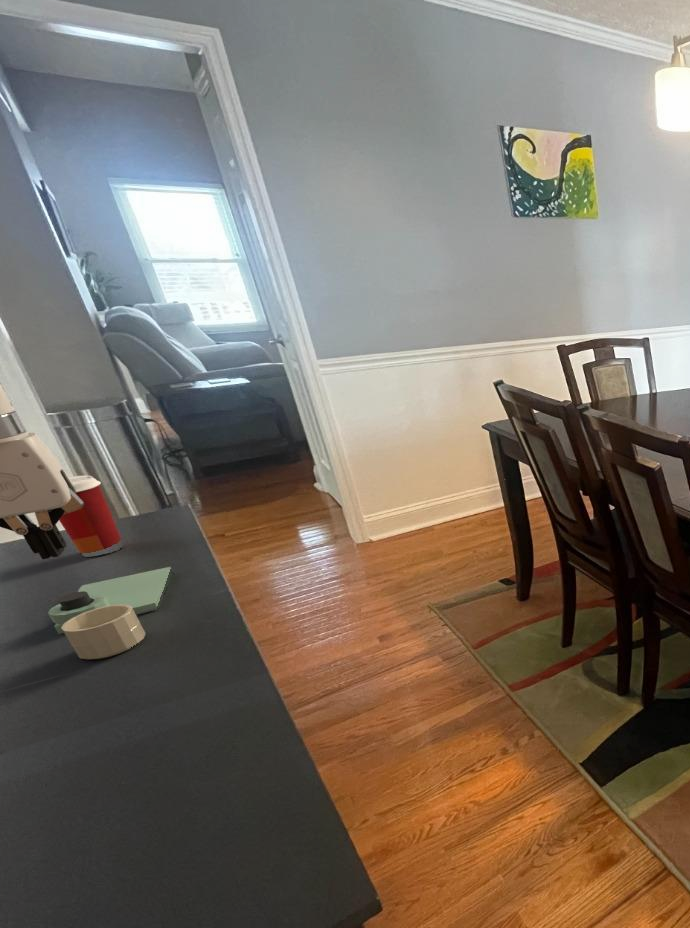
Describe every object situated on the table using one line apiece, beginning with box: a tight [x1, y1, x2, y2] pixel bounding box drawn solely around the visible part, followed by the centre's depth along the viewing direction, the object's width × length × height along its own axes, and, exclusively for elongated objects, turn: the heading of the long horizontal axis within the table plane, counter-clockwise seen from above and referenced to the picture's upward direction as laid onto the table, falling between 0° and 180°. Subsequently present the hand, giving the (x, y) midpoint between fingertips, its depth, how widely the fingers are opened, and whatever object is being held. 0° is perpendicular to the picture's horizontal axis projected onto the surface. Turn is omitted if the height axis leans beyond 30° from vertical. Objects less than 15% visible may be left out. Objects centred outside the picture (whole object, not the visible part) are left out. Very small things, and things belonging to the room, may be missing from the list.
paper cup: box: [58, 475, 122, 554], centre depth 110 cm, size 8×8×14 cm
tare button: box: [58, 591, 92, 611], centre depth 88 cm, size 3×3×2 cm
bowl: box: [61, 604, 146, 660], centre depth 83 cm, size 7×7×5 cm
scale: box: [47, 566, 172, 635], centre depth 94 cm, size 12×16×3 cm
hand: (53, 554), depth 86 cm, fingers closed
